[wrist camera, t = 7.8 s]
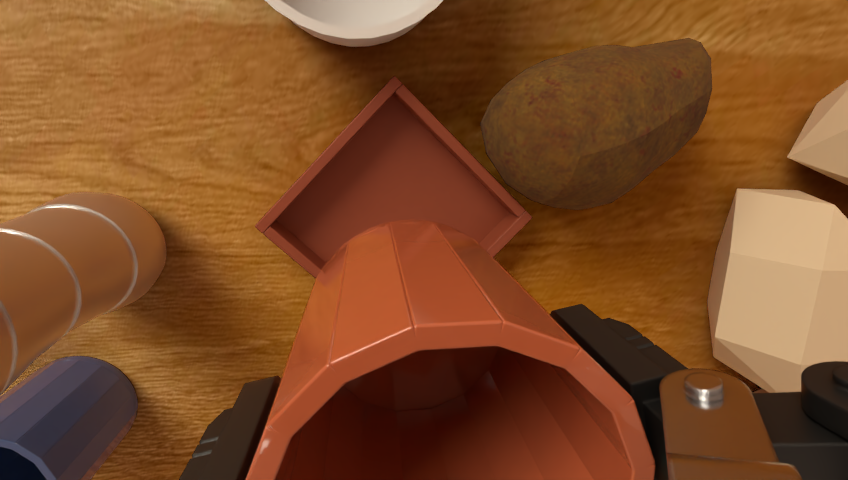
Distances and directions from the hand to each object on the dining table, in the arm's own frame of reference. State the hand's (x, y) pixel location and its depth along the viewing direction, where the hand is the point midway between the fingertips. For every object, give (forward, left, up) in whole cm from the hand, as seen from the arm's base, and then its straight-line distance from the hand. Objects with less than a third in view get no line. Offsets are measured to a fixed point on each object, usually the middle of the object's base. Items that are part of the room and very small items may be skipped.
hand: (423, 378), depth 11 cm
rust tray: (0, +1, -19) cm, 19 cm away
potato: (+4, +12, -19) cm, 23 cm away
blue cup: (-6, -21, -19) cm, 29 cm away
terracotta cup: (0, 0, -4) cm, 4 cm away
